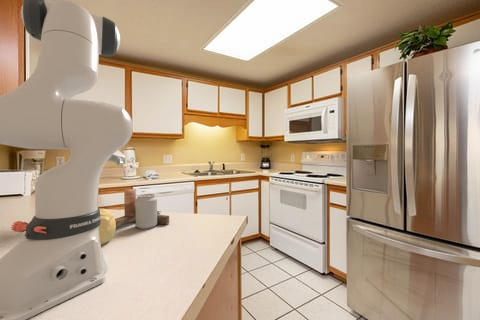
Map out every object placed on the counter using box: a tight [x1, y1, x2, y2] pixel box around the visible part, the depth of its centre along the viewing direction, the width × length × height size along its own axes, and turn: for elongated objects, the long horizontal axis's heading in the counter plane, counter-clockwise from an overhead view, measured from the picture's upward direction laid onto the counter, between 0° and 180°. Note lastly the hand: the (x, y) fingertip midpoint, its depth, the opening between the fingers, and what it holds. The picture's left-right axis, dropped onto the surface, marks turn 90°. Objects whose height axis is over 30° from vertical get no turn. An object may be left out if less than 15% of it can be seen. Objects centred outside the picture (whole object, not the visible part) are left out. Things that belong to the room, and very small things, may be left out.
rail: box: [115, 210, 162, 232], centre depth 92 cm, size 28×2×1 cm, turn 162°
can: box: [135, 193, 158, 230], centre depth 86 cm, size 8×8×12 cm
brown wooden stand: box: [115, 188, 170, 227], centre depth 85 cm, size 14×16×13 cm
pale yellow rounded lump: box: [99, 208, 116, 246], centre depth 70 cm, size 11×12×11 cm
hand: (111, 161), depth 89 cm, fingers open, 8 cm apart
